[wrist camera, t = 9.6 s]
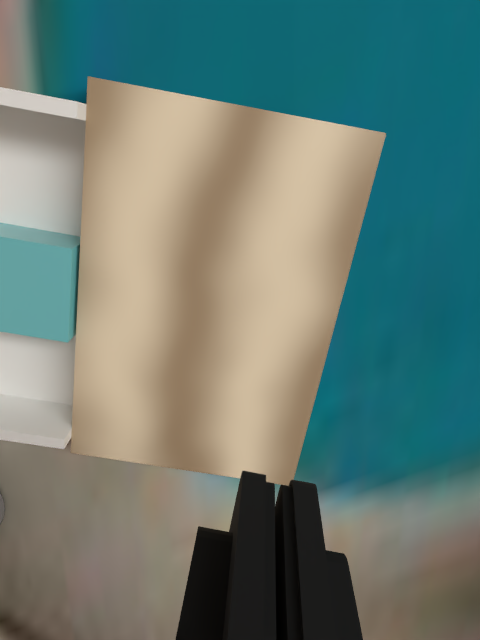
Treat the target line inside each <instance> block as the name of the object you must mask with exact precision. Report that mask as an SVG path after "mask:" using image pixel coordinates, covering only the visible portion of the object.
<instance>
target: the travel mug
mask: <svg viewBox="0 0 480 640" xmlns="http://www.w3.org/2000/svg"><path fill="white" fill-rule="evenodd" d="M4 510H5V506H4V501H3V497H2V495H1V493H0V524H1V522H2V520H3V517H4Z"/></svg>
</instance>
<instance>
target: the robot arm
mask: <svg viewBox="0 0 480 640" xmlns="http://www.w3.org/2000/svg"><path fill="white" fill-rule="evenodd" d="M176 640H363V638H362V633H361V627H360V622H359V617H358V612H357V607H356V602H355V596H354V591H353V586H352V581H351V576H350V571H349V565H348V562H347V558H346V556H345V555H344V554H343V553H337V552H332V551H327V550H325V543H324V536H323V529H322V522H321V515H320V508H319V501H318V494H317V487H316V485H315V484H312V483H307V482H302V481H296V480H291V481H290V483H289V486H287V485H281V486H280V489H279V493H278V497H277V501H276V505H275V485H274V483H271V482H266V475H264V474H259V473H254V472H248V471H242V473H241V478H240V483H239V487H238V492H237V497H236V502H235V506H234V511H233V516H232V521H231V525H230V530H229V532H225V531H220V530H215V529H209V528H204V527H198V531H197V536H196V541H195V546H194V551H193V556H192V561H191V566H190V571H189V576H188V581H187V586H186V591H185V596H184V601H183V606H182V611H181V616H180V621H179V626H178V631H177V636H176Z"/></svg>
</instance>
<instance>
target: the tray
mask: <svg viewBox="0 0 480 640" xmlns="http://www.w3.org/2000/svg"><path fill="white" fill-rule="evenodd" d="M86 105H87V104H84V103H80V102H76V101H71V100H66V99H60V98H55V97H50V96H44V95H39V94H34V93H28V92H23V91H18V90H12V89H7V88H2V87H0V223H6V224H12V225H18V226H23V227H29V228H35V229H40V230H46V231H52V232H58V233H63V234H69V235H75V236H80V237H81V215H82V193H83V171H84V149H85V127H86ZM75 346H76V335H75V336H74V337H73V338H72V339H71V340H70V341H69V342H68V343H67V342H61V341H55V340H49V339H43V338H37V337H30V336H24V335H18V334H12V333H6V332H0V440H6V441H12V442H19V443H26V444H32V445H39V446H46V447H52V448H59V449H64V448H65V447H66V445H67V444H68V442H69V440H70V439H71V434H72V412H73V390H74V368H75Z"/></svg>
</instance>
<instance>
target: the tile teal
mask: <svg viewBox="0 0 480 640" xmlns="http://www.w3.org/2000/svg"><path fill="white" fill-rule="evenodd" d="M79 258H80V236H75V235H69V234H63V233H58V232H52V231H46V230H40V229H35V228H29V227H23V226H18V225H12V224H6V223H0V332H6V333H12V334H18V335H24V336H30V337H37V338H43V339H49V340H55V341H61V342H67V343H68V342H69V341H70V340H71V339H72V338H73V337H74V336H75V335H76V324H77V302H78V280H79Z"/></svg>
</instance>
